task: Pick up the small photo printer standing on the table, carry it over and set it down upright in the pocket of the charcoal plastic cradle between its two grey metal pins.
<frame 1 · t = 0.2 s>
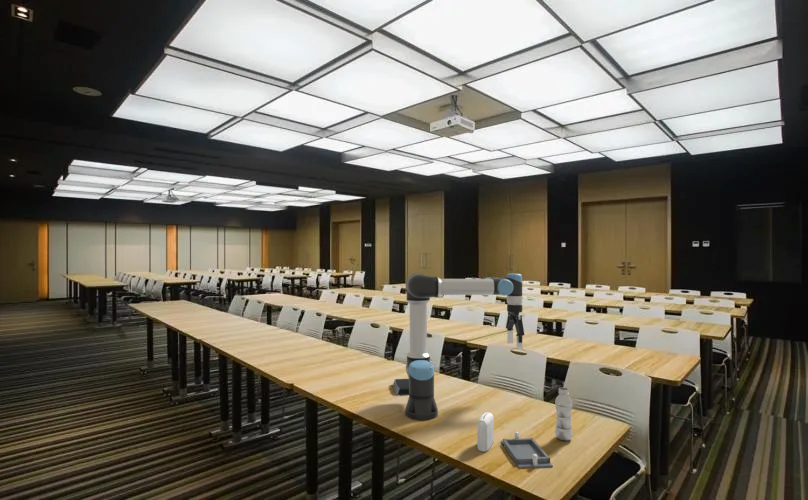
hand: (514, 346, 207), 28 cm above the table, fingers open, 13 cm apart
plastic bottle: (563, 439, 164), on the table
external hard drive: (405, 390, 226), on the table
cradle: (525, 453, 152), on the table
photo printer: (485, 446, 158), on the table
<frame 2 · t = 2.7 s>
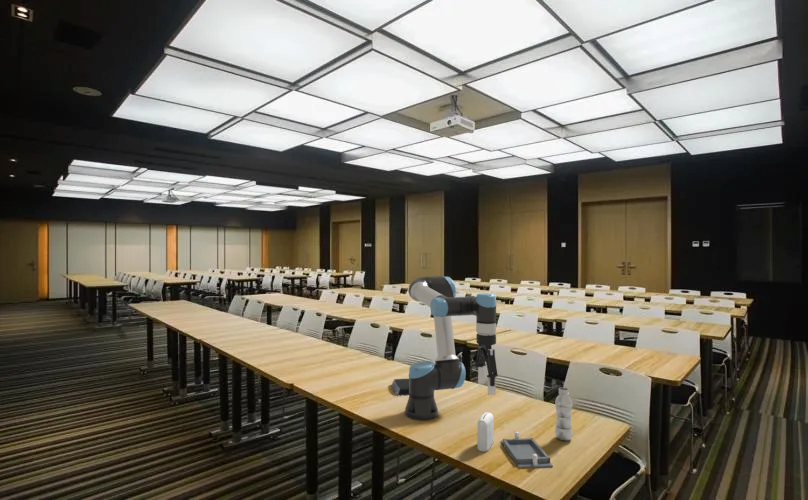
hand: (486, 388, 159), 22 cm above the table, fingers open, 13 cm apart
nothing on the table moved.
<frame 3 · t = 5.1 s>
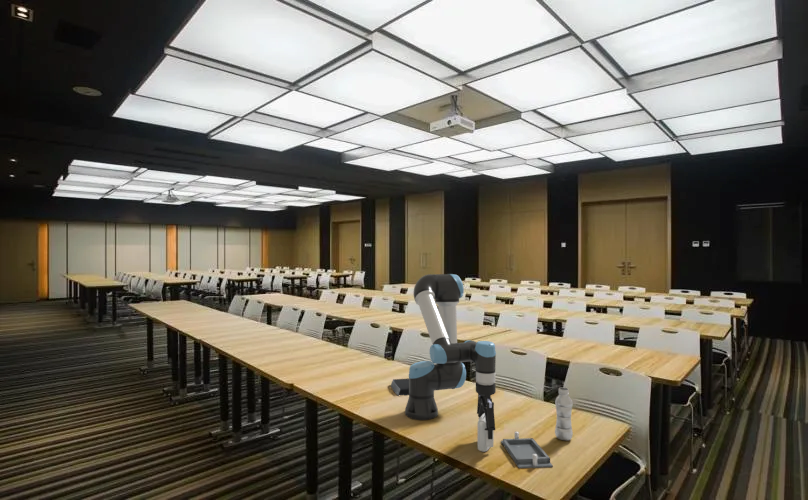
hand: (485, 440, 158), 2 cm above the table, fingers closed on photo printer, 10 cm apart
photo printer: (485, 446, 158), on the table, touching gripper
everything else where it was.
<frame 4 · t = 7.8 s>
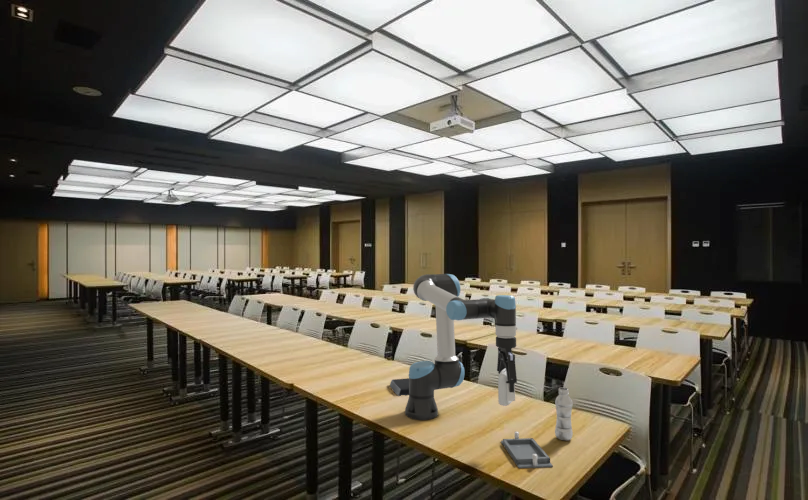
hand: (506, 396, 154), 21 cm above the table, fingers closed on photo printer, 10 cm apart
photo printer: (506, 402, 154), point 18 cm above the table, touching gripper
everything else where it was.
when the fingers open (5 cm above the table, at t = 10.6 s): photo printer drops 2 cm, resting on cradle.
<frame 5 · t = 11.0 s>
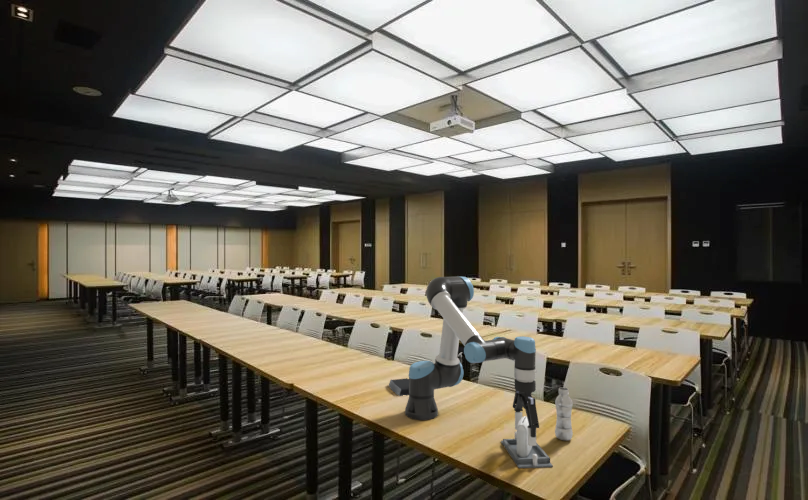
hand: (525, 437, 152), 6 cm above the table, fingers open, 13 cm apart
photo printer: (524, 452, 152), resting on cradle
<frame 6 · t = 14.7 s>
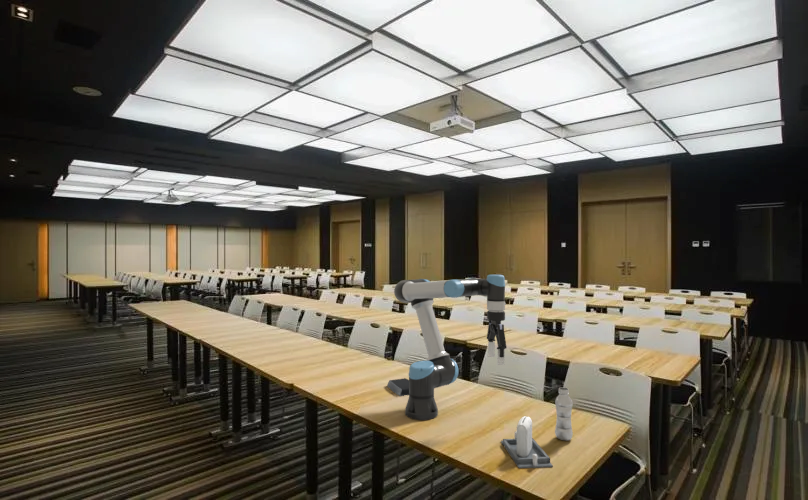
hand: (496, 360, 175), 29 cm above the table, fingers open, 13 cm apart
at the end: photo printer 0.5 cm from the cradle (horizontally); photo printer tilted 0°; the gripper is holding nothing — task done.
